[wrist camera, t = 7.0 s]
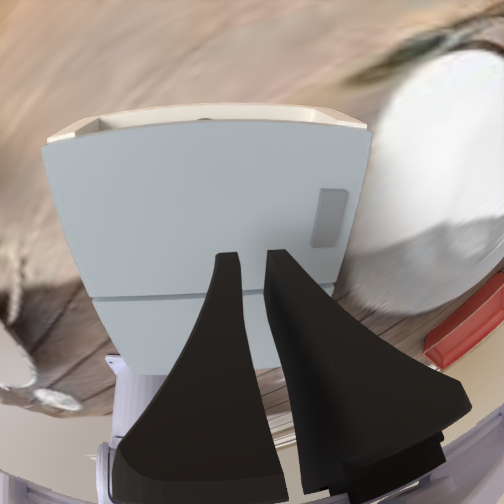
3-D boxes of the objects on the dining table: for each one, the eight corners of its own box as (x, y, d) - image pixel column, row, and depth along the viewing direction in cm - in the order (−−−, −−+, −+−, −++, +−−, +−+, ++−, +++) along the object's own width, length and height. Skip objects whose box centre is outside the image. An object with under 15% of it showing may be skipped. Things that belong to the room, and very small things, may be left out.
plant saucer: (435, 359, 42) (442, 372, 40) (412, 337, 33) (422, 356, 30) (503, 300, 36) (511, 312, 33) (502, 256, 26) (516, 271, 24)
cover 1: (332, 275, 16) (337, 285, 15) (92, 289, 14) (88, 300, 13) (366, 128, 11) (376, 134, 10) (47, 143, 9) (37, 149, 8)
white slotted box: (293, 320, 25) (304, 357, 22) (138, 330, 23) (133, 368, 20) (332, 108, 14) (367, 124, 11) (81, 118, 12) (46, 138, 9)
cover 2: (305, 356, 21) (308, 365, 21) (133, 368, 20) (132, 377, 19) (331, 280, 16) (336, 291, 16) (94, 294, 14) (90, 305, 14)
